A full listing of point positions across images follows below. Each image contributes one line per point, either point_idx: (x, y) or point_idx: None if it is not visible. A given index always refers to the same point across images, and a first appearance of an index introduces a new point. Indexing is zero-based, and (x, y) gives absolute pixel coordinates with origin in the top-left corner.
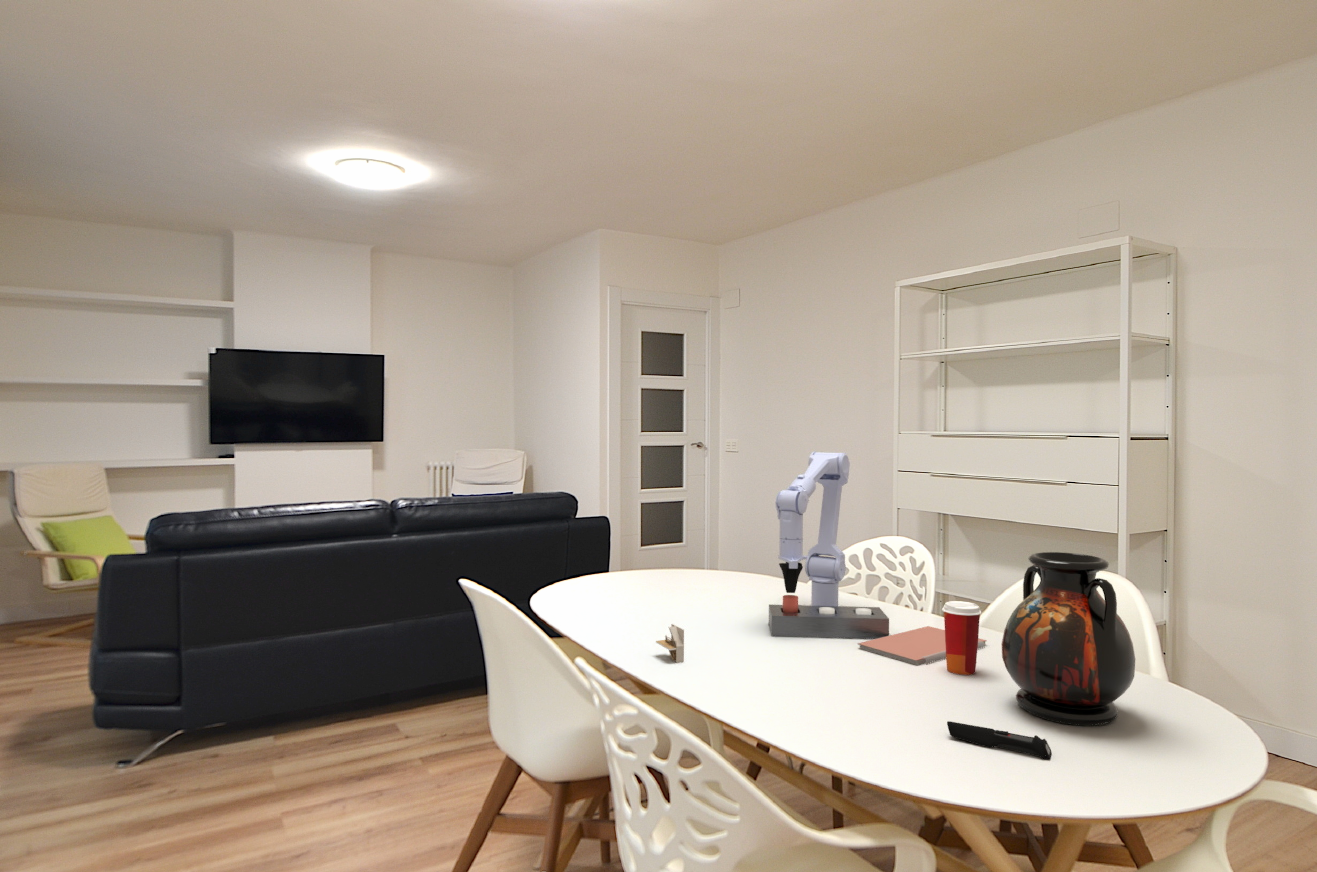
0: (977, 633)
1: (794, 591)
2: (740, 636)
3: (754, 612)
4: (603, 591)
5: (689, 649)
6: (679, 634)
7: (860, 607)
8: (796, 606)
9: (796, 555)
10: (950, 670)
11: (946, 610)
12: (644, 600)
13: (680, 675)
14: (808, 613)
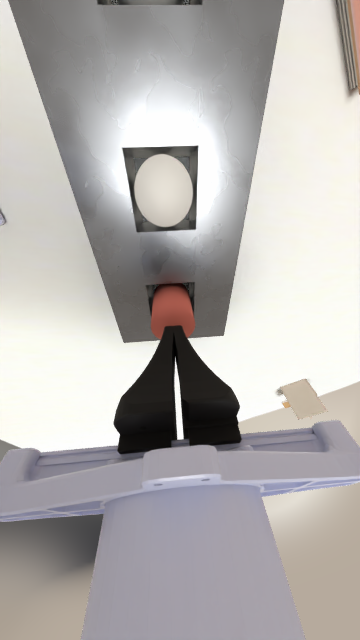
0: None
1: (182, 329)
2: (215, 346)
3: (55, 338)
4: (53, 447)
5: (265, 379)
6: (313, 406)
7: None
8: (185, 298)
9: (263, 509)
10: None
11: None
12: (69, 426)
13: (344, 375)
14: (199, 261)
